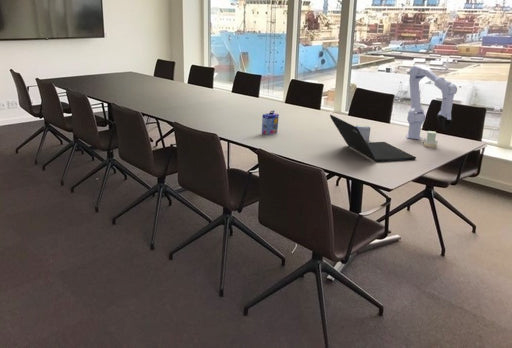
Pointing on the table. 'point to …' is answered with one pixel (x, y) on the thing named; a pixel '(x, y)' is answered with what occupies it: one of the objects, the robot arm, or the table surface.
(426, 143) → the top slab
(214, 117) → the table surface
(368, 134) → the medicine box
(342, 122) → the laptop
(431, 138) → the cube
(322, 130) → the table surface
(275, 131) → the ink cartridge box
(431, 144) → the bottom slab
